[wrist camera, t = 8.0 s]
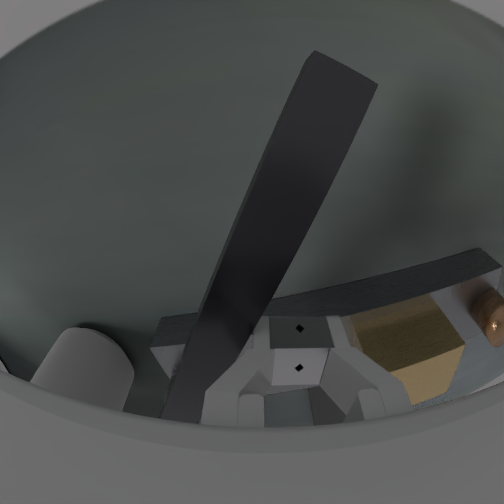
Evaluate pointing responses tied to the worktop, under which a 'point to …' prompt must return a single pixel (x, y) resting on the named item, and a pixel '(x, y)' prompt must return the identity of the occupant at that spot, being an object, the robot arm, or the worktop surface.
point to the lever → (270, 223)
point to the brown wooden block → (413, 348)
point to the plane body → (377, 305)
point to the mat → (324, 408)
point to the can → (87, 369)
